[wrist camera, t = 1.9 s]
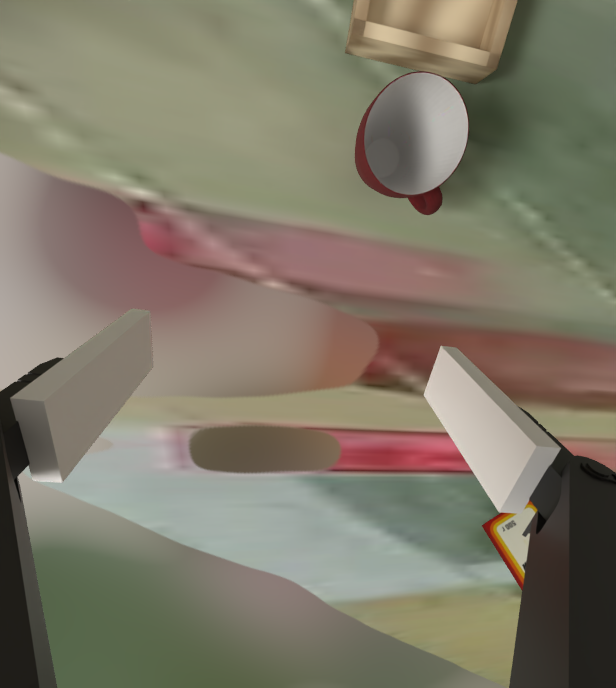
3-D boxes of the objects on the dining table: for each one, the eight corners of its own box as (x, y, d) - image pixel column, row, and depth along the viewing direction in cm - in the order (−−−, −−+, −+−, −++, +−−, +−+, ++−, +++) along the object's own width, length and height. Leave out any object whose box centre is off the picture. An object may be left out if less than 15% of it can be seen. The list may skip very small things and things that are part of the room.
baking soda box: (502, 544, 56) (580, 663, 41) (481, 525, 54) (555, 643, 39) (551, 513, 54) (651, 627, 39) (531, 493, 52) (629, 604, 37)
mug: (449, 176, 35) (509, 162, 25) (392, 234, 36) (428, 241, 27) (384, 91, 32) (424, 39, 22) (325, 159, 33) (340, 138, 24)
